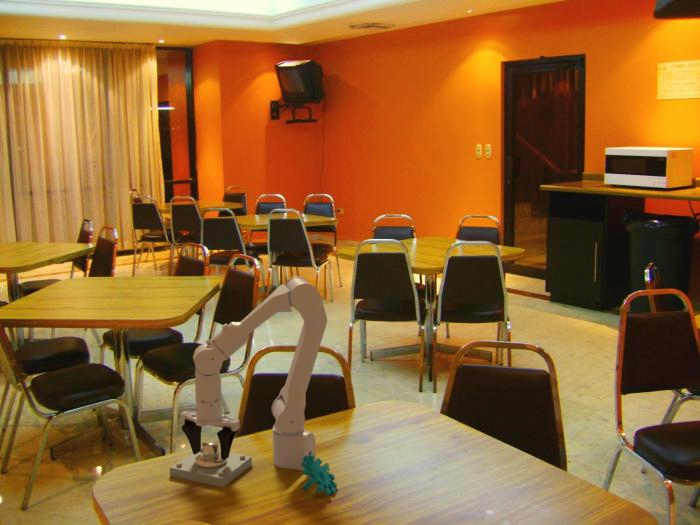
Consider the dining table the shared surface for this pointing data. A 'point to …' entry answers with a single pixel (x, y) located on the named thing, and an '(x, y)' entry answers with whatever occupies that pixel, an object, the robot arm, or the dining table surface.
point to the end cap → (210, 456)
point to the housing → (211, 476)
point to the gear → (318, 475)
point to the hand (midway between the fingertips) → (211, 455)
